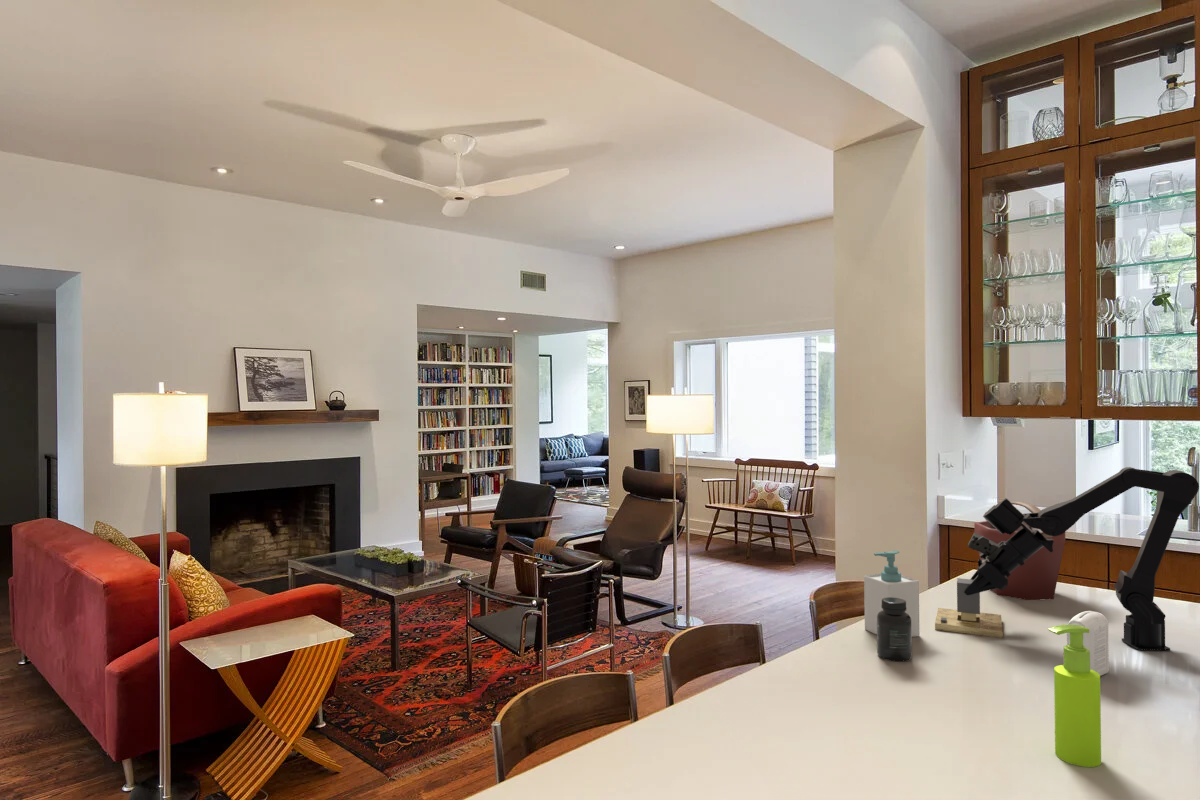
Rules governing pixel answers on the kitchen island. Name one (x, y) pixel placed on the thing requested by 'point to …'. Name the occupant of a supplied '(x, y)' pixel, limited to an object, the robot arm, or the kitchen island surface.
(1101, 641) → the photo printer
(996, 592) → the bucket
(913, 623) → the soap bottle
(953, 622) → the socket
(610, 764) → the kitchen island surface
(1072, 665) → the soap dispenser
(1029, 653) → the kitchen island surface
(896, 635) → the supplement bottle
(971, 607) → the plug
